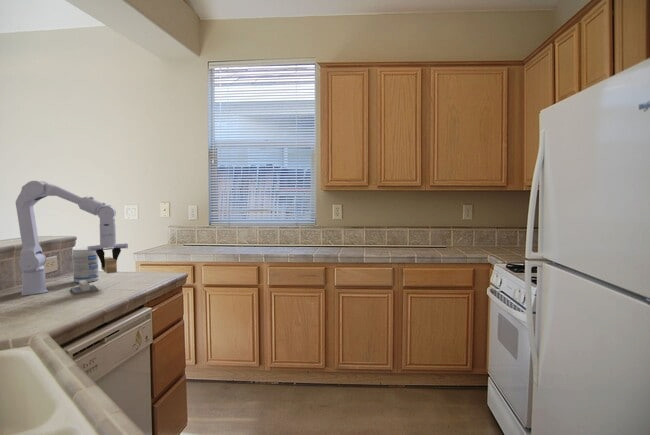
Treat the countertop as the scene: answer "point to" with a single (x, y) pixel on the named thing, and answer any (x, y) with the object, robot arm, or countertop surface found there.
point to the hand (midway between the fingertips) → (108, 266)
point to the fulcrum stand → (84, 288)
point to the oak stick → (110, 265)
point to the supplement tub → (85, 265)
